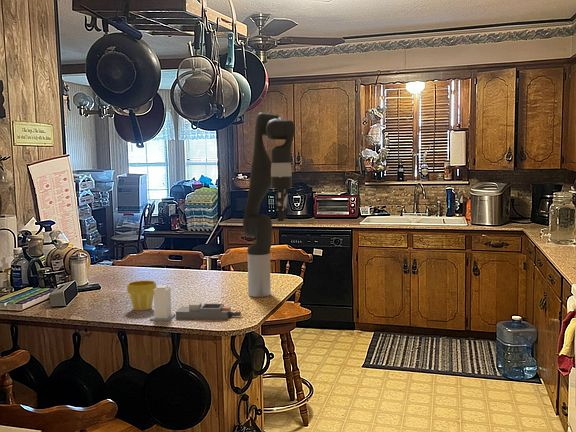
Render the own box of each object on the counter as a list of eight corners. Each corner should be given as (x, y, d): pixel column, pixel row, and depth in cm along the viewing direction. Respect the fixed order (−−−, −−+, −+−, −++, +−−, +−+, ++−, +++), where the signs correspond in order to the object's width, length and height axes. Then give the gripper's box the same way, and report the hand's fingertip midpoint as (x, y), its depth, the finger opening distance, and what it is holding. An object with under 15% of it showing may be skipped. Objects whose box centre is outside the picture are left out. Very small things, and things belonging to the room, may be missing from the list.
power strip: (181, 313, 205) (181, 301, 205) (242, 314, 203) (242, 301, 203) (176, 318, 198) (175, 306, 198) (238, 319, 196) (238, 306, 196)
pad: (156, 315, 203) (156, 313, 203) (175, 315, 202) (175, 313, 202) (149, 320, 196) (149, 318, 196) (169, 320, 195) (169, 319, 195)
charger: (159, 314, 202) (158, 285, 201) (171, 314, 201) (170, 285, 200) (154, 317, 197) (153, 287, 196) (167, 318, 197) (166, 288, 196)
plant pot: (131, 305, 218) (130, 280, 217) (158, 304, 219) (157, 279, 218) (125, 312, 208) (124, 286, 207) (154, 311, 208) (153, 285, 208)
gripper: (273, 175, 213) (274, 218, 215) (268, 175, 199) (269, 221, 201) (293, 175, 213) (293, 218, 214) (289, 175, 198) (290, 221, 200)
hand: (281, 219), depth 207 cm, fingers open, 8 cm apart
